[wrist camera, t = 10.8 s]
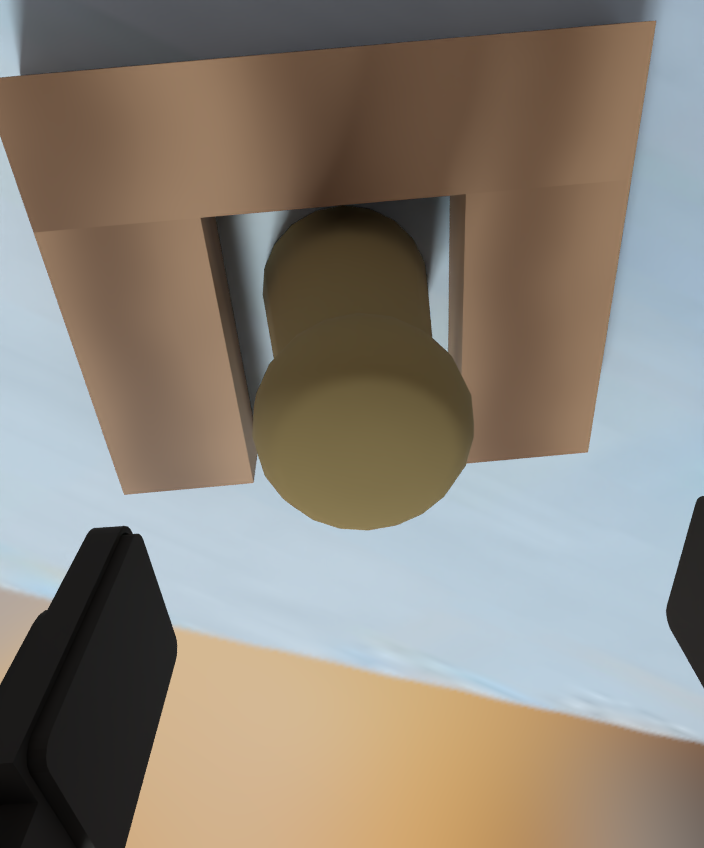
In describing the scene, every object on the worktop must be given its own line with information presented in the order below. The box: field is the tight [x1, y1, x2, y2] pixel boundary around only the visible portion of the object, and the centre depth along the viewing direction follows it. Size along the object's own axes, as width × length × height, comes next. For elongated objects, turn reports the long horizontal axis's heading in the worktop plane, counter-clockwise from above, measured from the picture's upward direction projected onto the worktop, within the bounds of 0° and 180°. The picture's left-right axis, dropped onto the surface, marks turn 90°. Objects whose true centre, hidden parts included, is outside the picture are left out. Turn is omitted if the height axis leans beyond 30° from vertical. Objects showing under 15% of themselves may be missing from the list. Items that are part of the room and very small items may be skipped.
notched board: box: [0, 21, 656, 495], centre depth 21 cm, size 18×14×2 cm
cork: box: [252, 205, 474, 530], centre depth 18 cm, size 6×6×11 cm
